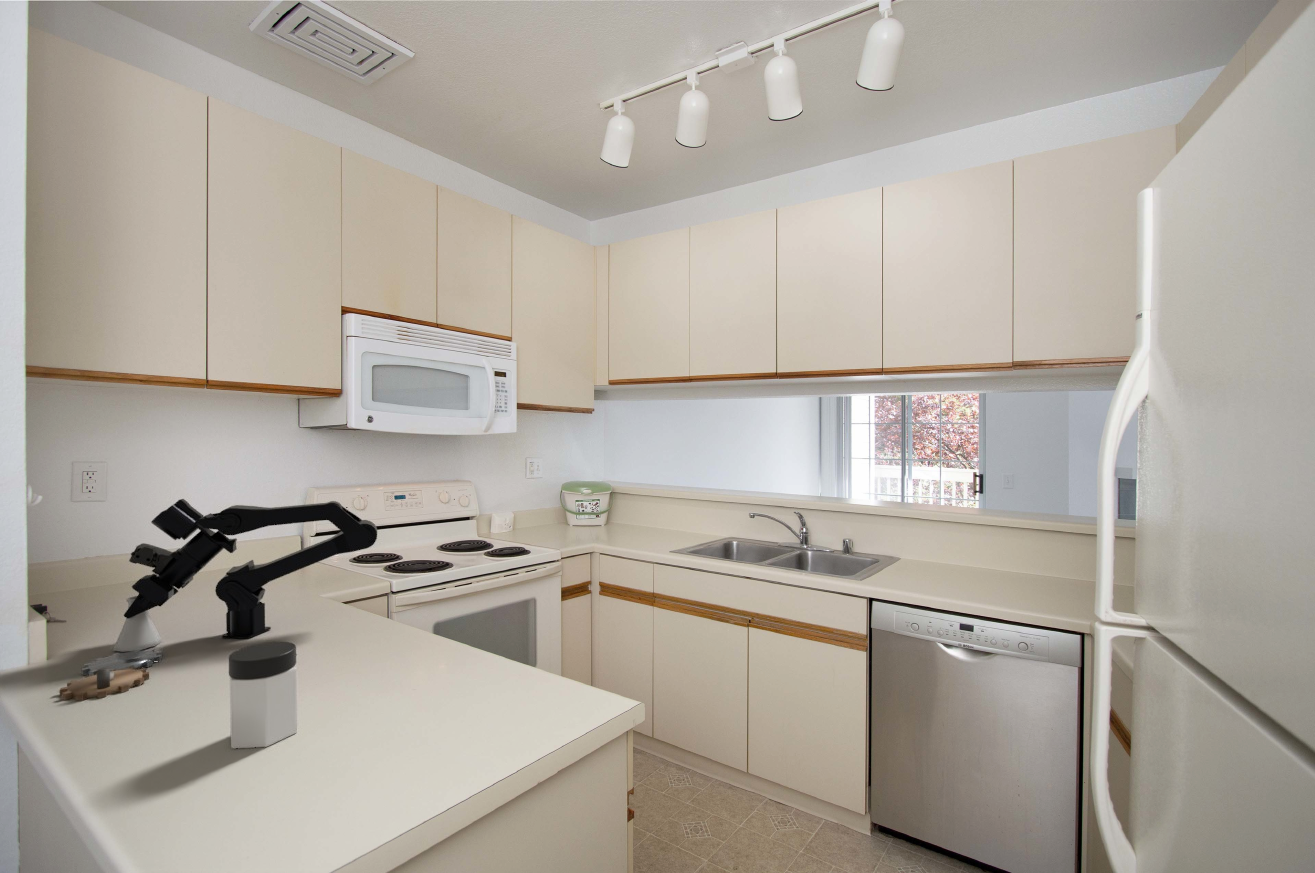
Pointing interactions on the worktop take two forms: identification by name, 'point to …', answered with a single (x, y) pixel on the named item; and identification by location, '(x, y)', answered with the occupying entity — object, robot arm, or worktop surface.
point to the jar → (263, 694)
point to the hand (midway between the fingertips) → (128, 614)
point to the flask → (137, 632)
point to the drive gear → (104, 683)
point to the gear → (123, 661)
